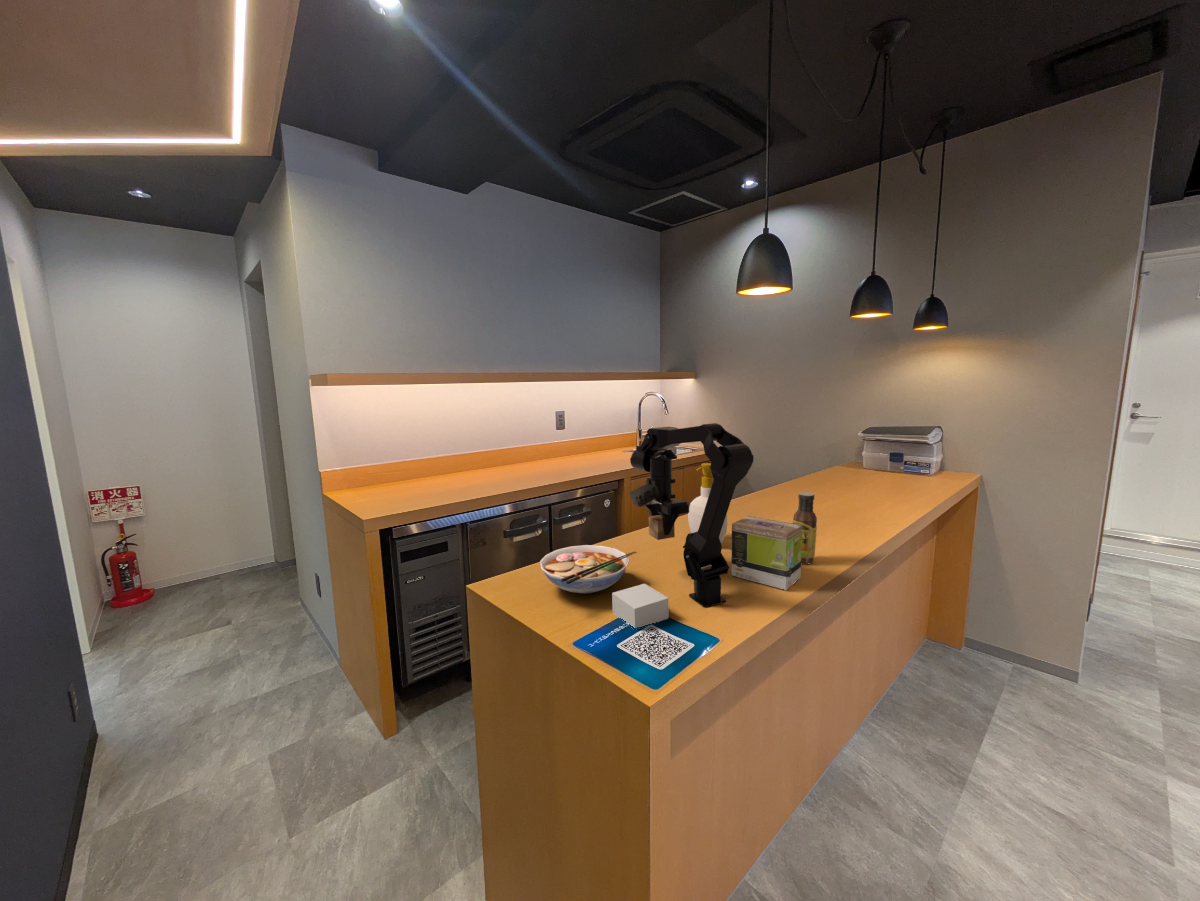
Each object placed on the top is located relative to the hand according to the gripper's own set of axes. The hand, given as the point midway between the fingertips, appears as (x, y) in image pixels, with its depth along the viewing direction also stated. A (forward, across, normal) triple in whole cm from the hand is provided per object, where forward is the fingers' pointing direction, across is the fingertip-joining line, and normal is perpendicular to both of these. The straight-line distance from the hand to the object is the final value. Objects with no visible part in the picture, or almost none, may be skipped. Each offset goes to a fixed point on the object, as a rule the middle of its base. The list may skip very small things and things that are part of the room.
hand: (661, 532), depth 125 cm
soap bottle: (+12, -15, +24) cm, 31 cm away
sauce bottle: (+12, +9, +40) cm, 43 cm away
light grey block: (+12, +18, -16) cm, 26 cm away
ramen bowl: (+12, -1, -22) cm, 25 cm away
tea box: (+12, +13, +24) cm, 30 cm away
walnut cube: (+1, 0, 0) cm, 1 cm away
